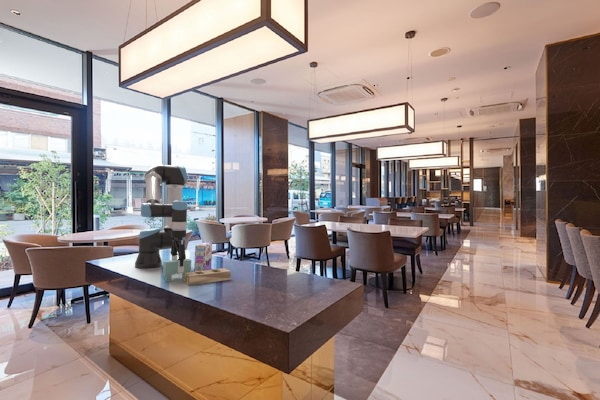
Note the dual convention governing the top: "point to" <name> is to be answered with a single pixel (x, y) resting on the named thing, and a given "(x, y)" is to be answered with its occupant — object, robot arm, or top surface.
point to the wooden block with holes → (207, 276)
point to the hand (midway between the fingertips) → (177, 270)
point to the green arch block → (175, 268)
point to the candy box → (203, 256)
